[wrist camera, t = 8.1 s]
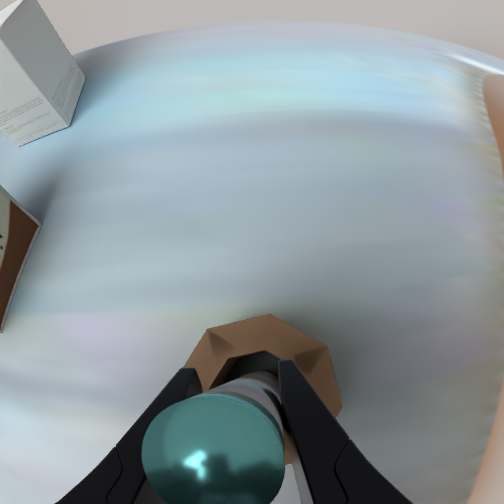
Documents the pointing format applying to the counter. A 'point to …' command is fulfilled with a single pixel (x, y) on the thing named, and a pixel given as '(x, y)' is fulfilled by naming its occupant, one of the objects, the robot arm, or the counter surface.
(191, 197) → the counter surface
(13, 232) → the food container
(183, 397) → the robot arm
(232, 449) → the teal-capped metal tube
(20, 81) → the supplement box
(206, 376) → the brown octagonal ring
